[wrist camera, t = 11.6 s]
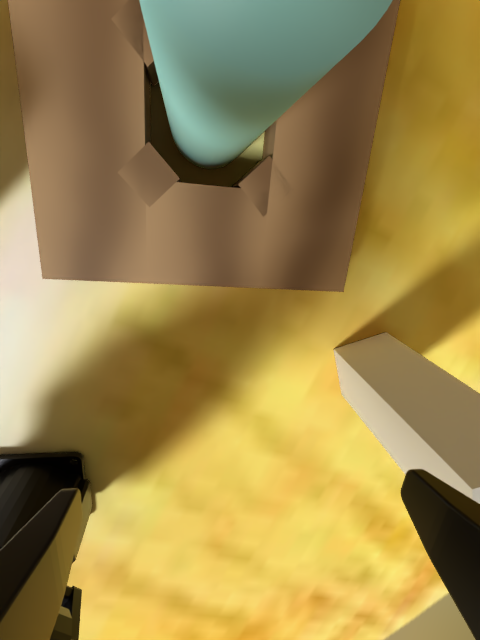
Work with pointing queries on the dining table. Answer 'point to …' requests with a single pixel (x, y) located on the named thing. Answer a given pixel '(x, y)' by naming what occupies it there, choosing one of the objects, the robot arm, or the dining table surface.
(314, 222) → the socket board
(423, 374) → the square dowel
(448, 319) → the dining table surface
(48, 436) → the dining table surface
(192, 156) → the round dowel
